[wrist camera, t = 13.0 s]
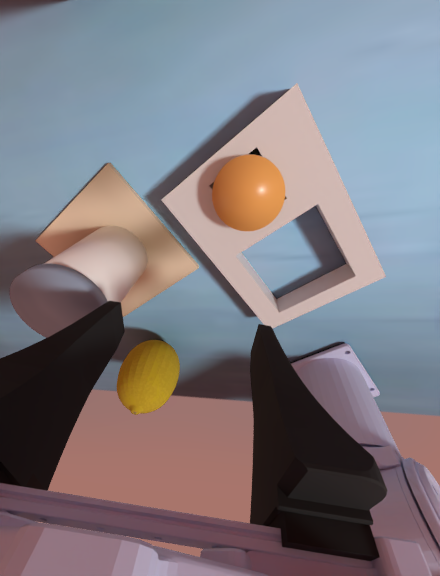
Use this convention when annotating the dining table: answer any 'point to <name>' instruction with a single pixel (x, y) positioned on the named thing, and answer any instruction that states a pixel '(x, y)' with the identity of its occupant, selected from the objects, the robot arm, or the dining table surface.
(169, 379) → the lemon
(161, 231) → the birch board
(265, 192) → the orange dome button
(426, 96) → the dining table surface
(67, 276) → the cylinder
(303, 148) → the beige flat frame
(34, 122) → the dining table surface
